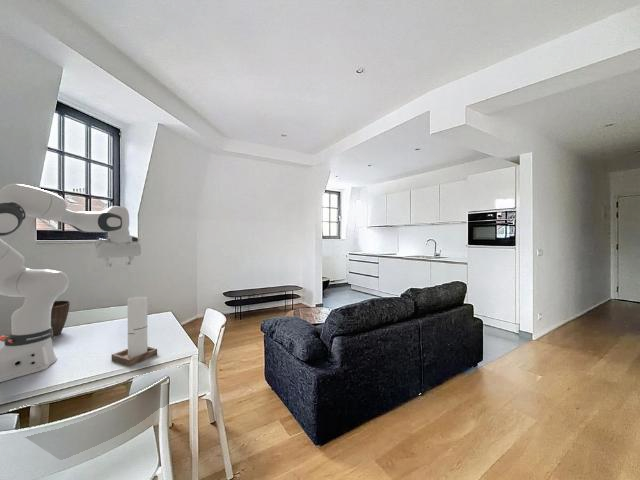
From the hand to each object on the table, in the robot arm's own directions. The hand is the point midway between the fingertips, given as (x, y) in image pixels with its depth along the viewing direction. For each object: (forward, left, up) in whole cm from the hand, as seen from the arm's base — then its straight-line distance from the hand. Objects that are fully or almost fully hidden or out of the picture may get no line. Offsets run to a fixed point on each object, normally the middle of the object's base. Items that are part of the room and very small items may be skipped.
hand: (119, 266), depth 140 cm
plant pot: (-12, +37, -37) cm, 54 cm away
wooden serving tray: (-10, -28, -37) cm, 48 cm away
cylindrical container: (-10, -29, -36) cm, 48 cm away
